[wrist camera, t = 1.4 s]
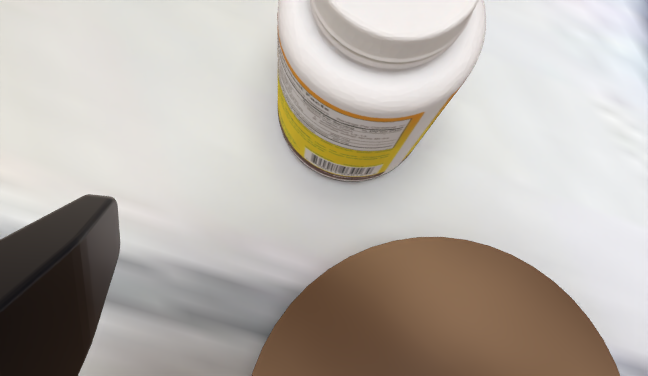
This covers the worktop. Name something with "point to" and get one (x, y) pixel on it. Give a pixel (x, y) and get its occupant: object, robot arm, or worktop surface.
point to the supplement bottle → (370, 77)
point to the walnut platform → (434, 318)
